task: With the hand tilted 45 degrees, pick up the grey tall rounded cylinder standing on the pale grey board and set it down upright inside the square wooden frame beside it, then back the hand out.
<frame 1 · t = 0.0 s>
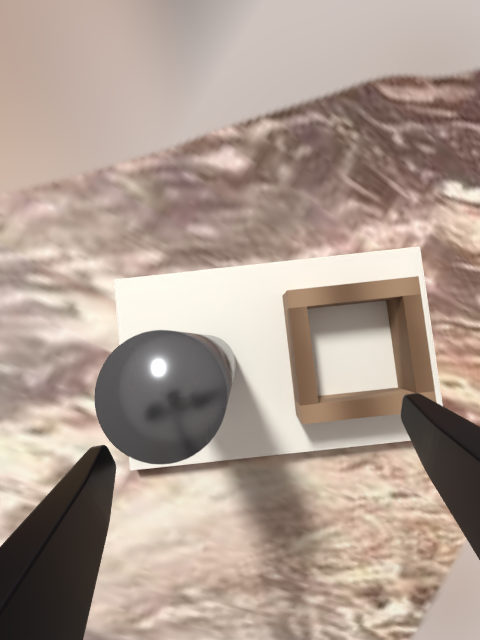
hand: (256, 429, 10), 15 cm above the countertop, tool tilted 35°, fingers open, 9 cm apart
grey tall rounded cylinder: (206, 365, 24), point 1 cm above the countertop, touching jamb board
square wooden frame: (348, 348, 24), resting on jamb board
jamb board: (275, 355, 25), on the countertop
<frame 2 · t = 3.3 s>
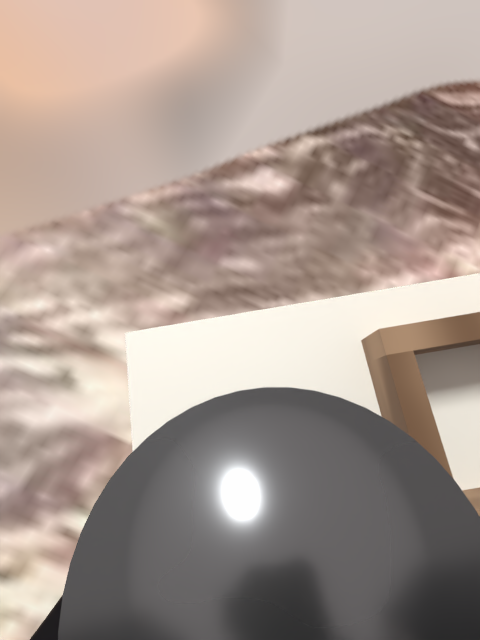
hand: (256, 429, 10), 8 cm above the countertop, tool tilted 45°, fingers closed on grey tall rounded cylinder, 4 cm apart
grey tall rounded cylinder: (260, 450, 16), point 1 cm above the countertop, touching gripper, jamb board
square wooden frame: (473, 412, 16), resting on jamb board
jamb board: (360, 430, 17), on the countertop
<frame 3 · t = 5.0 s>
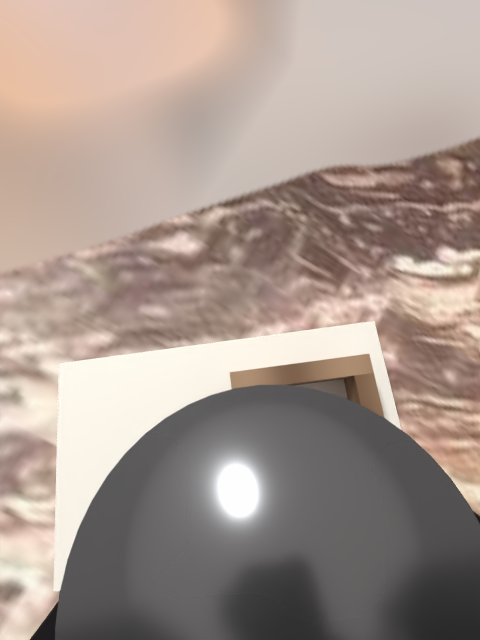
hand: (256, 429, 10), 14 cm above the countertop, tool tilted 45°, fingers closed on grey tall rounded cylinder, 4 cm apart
grey tall rounded cylinder: (259, 450, 16), point 7 cm above the countertop, touching gripper
square wooden frame: (305, 433, 21), resting on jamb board
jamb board: (228, 443, 22), on the countertop
when the fingers open (9 cm above the countertop, at t = 6.6 s): grey tall rounded cylinder drops 1 cm, resting on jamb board.
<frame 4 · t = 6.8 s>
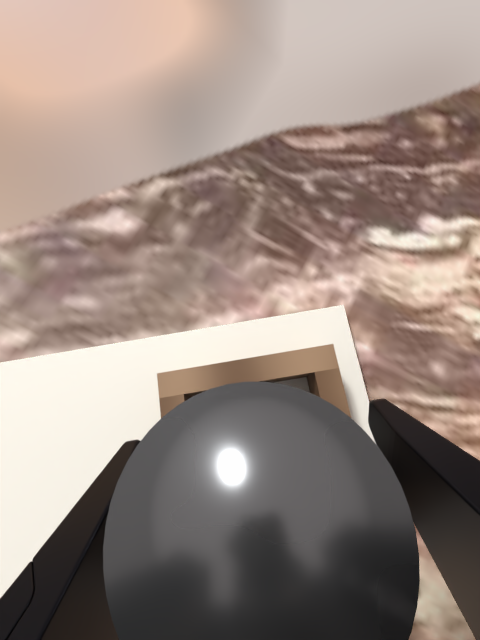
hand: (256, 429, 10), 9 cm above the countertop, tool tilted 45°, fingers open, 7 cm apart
grey tall rounded cylinder: (260, 448, 17), point 1 cm above the countertop, touching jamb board
square wooden frame: (260, 447, 17), resting on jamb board
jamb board: (167, 461, 18), on the countertop
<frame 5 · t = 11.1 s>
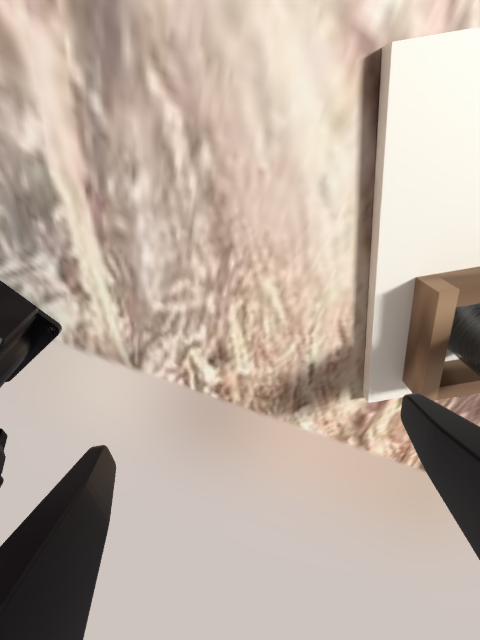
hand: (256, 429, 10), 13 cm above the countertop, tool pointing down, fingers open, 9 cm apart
grey tall rounded cylinder: (467, 323, 23), point 1 cm above the countertop, touching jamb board
square wooden frame: (468, 323, 23), resting on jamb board
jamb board: (473, 248, 22), on the countertop
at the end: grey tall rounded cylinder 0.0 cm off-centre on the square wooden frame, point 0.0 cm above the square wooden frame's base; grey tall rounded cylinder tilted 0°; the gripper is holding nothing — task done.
